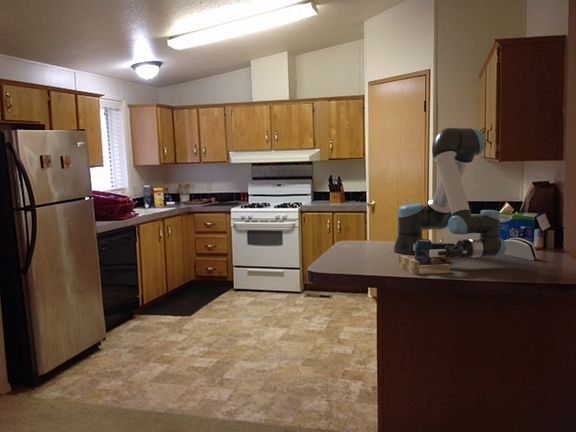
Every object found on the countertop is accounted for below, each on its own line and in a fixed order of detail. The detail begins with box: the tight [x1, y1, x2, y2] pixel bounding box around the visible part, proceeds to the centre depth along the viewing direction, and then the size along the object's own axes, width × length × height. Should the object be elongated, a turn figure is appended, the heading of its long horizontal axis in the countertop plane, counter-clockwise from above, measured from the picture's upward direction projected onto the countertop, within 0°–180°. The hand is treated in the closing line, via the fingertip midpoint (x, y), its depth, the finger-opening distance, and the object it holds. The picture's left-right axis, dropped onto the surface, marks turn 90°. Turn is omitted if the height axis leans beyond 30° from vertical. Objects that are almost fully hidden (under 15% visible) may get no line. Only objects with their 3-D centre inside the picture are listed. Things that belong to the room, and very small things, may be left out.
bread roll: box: [432, 255, 450, 264], centre depth 221 cm, size 10×10×8 cm
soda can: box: [414, 238, 433, 265], centre depth 204 cm, size 7×7×12 cm
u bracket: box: [398, 254, 451, 275], centre depth 204 cm, size 14×16×5 cm
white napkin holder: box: [503, 237, 541, 261], centre depth 231 cm, size 17×5×10 cm, turn 22°
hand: (421, 250), depth 203 cm, fingers open, 13 cm apart
